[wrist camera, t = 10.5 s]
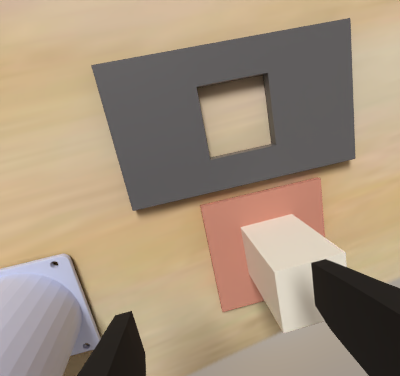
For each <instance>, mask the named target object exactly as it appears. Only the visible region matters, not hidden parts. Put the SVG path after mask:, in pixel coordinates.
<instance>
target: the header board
mask: <svg viewBox="0 0 400 376" xmlns="http://www.w3.org/2000/svg"><path fill="white" fill-rule="evenodd" d="M91 66H92V69H93V73H94V76H95V80H96V83H97V87H98V90H99V94H100V97H101V101H102V104H103V108H104V111H105V115H106V118H107V122H108V125H109V129H110V132H111V136H112V139H113V143H114V147H115V150H116V154H117V157H118V161H119V164H120V168H121V171H122V175H123V178H124V182H125V185H126V189H127V192H128V196H129V199H130V203H131V206H132V210H133V211H135V210H139V209H143V208H147V207H152V206H156V205H160V204H164V203H169V202H173V201H177V200H181V199H186V198H190V197H194V196H198V195H203V194H207V193H211V192H216V191H220V190H224V189H228V188H233V187H237V186H241V185H245V184H250V183H254V182H258V181H262V180H267V179H271V178H275V177H279V176H284V175H288V174H292V173H296V172H301V171H305V170H309V169H314V168H318V167H322V166H326V165H331V164H335V163H339V162H343V161H348V160H352V159H355V136H354V108H353V80H352V52H351V24H350V18H348V19H342V20H337V21H331V22H326V23H321V24H315V25H310V26H304V27H299V28H293V29H288V30H282V31H277V32H271V33H266V34H260V35H255V36H249V37H244V38H238V39H233V40H227V41H222V42H216V43H211V44H205V45H200V46H195V47H189V48H184V49H178V50H173V51H167V52H162V53H156V54H151V55H145V56H140V57H134V58H129V59H123V60H118V61H112V62H107V63H101V64H96V65H91ZM259 75H263V78H264V86H265V94H266V102H267V111H268V119H269V127H270V135H271V143H272V144H270V145H265V146H261V147H256V148H252V149H247V150H243V151H238V152H234V153H229V154H225V155H220V156H216V157H211V158H210V156H209V151H208V145H207V140H206V135H205V129H204V124H203V119H202V114H201V108H200V103H199V98H198V92H197V88H198V87H203V86H208V85H213V84H218V83H223V82H228V81H233V80H238V79H243V78H249V77H254V76H259Z"/></svg>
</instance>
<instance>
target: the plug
mask: <svg viewBox="0 0 400 376" xmlns="http://www.w3.org/2000/svg"><path fill="white" fill-rule="evenodd" d="M241 233H242V238H243V244H244V249H245V255H246V260H247V266H248V272H249V275H250V277H251V278H252V280H253V282H254V283H255V285H256V287H257V289H258V290H259V292H260V294H261V296H262V297H263V299H264V301H265V302H266V304H267V306H268V308H269V309H270V311H271V313H272V315H273V316H274V318H275V320H276V321H277V323H278V325H279V327H280V328H281V330H282V332H283V333H287V332H290V331H294V330H297V329H300V328H304V327H307V326H310V325H313V324H317V323H320V322H323V321H325V320H324V319H323V317H322V316H321V314H320V312H319V311H318V309H317V308H316V306H315V300H314V289H313V278H312V268H311V263H312V262H316V261H320V260H324V259H327V260H330V261H332V262H335V263H337V264H340V265H342V266H345V267H347V266H346V252H344V251H343V250H342V249H340V248H339V247H337V246H336V245H335V244H333V243H332V242H330V241H329V240H328V239H326V238H325V237H323V236H322V235H321V234H319V233H318V232H316V231H315V230H314V229H312V228H311V227H309V226H308V225H307V224H305V223H304V222H302V221H301V220H300V219H298V218H297V217H295V216H294V215H293V214H289V215H286V216H282V217H278V218H274V219H270V220H266V221H263V222H259V223H255V224H251V225H247V226H243V227H241Z"/></svg>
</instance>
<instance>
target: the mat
mask: <svg viewBox="0 0 400 376" xmlns="http://www.w3.org/2000/svg"><path fill="white" fill-rule="evenodd" d="M200 207H201V212H202V217H203V222H204V226H205V231H206V236H207V241H208V245H209V250H210V255H211V260H212V265H213V269H214V274H215V279H216V284H217V289H218V293H219V298H220V303H221V308H222V311H223V312H225V311H229V310H232V309H236V308H239V307H243V306H247V305H250V304H254V303H257V302H261V301H264V299H263V297H262V296H261V294H260V292H259V290H258V289H257V287H256V285H255V283H254V282H253V280H252V278H251V277H250V275H249V272H248V266H247V260H246V255H245V249H244V244H243V238H242V233H241V227H243V226H247V225H251V224H255V223H259V222H263V221H266V220H270V219H274V218H278V217H282V216H286V215H289V214H293V215H294V216H295V217H297V218H298V219H300V220H301V221H302V222H304V223H305V224H307V225H308V226H309V227H311V228H312V229H314V230H315V231H316V232H318V233H319V234H321V235H322V236H323V237H325V232H324V219H323V205H322V192H321V179H320V178H318V177H317V178H313V179H309V180H305V181H300V182H296V183H292V184H288V185H284V186H279V187H275V188H271V189H267V190H263V191H258V192H254V193H250V194H246V195H242V196H237V197H233V198H229V199H225V200H221V201H216V202H212V203H208V204H204V205H200Z"/></svg>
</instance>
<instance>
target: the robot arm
mask: <svg viewBox="0 0 400 376" xmlns="http://www.w3.org/2000/svg"><path fill="white" fill-rule="evenodd" d="M53 261H55V262H57V263H58V265H54V264H53V263H52V262H53ZM311 268H312V278H313V289H314V300H315V306H316V308H317V309H318V311H319V312H320V314H321V316H322V317H323V319H324V320H325V322H326V323H327V325H328V326H329V327H330V329H331V330H332V332H333V333H334V334H335V335H336V337H337V338H338V339H339V340H340V341H341V343H342V344H343V345H344V346H345V348H346V349H347V350H348V351H349V352H350V354H351V355H352V356H353V357H354V358H355V359H356V361H357V362H358V363H359V364H360V366H361V367H362V368H363V369H364V370H365V371H366V373H367V374H368V375H369V376H400V288H397V287H395V286H392V285H389V284H387V283H384V282H382V281H379V280H376V279H374V278H371V277H369V276H367V275H364V274H362V273H359V272H357V271H354V270H352V269H350V268H347V267H345V266H342V265H340V264H337V263H335V262H332V261H330V260H327V259H324V260H320V261H316V262H312V263H311ZM85 343H88V344H89V345H86V344H85ZM90 350H94V351H93V352H92V354H91V355H90V357H89V358H88V360H87V361H86V363H85V365H84V366H83V368H82V369H81V371H80V372H79V374H78V375H77V376H146V362H145V351H144V348H143V345H142V342H141V339H140V336H139V333H138V329H137V326H136V323H135V320H134V317H133V314H132V311H130V312H126V313H122V314H119V315H115V317H114V318H113V320H112V321H111V323H110V325H109V326H108V328H107V330H106V331H105V333H104V334H103V336H102V338H100V335H99V332H98V330H97V327H96V324H95V322H94V319H93V316H92V314H91V311H90V308H89V306H88V303H87V300H86V297H85V295H84V292H83V289H82V287H81V284H80V281H79V279H78V276H77V273H76V271H75V268H74V265H73V263H72V260H71V258H70V256H68V255H67V254H59V255H55V256H51V257H47V258H43V259H39V260H34V261H30V262H26V263H22V264H18V265H14V266H10V267H6V268H2V269H0V376H63V374H64V372H65V369H66V366H67V364H68V361H69V358H70V356H72V355H76V354H79V353H83V352H86V351H90Z"/></svg>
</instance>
